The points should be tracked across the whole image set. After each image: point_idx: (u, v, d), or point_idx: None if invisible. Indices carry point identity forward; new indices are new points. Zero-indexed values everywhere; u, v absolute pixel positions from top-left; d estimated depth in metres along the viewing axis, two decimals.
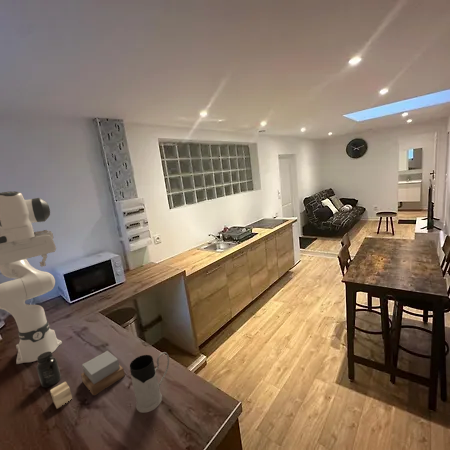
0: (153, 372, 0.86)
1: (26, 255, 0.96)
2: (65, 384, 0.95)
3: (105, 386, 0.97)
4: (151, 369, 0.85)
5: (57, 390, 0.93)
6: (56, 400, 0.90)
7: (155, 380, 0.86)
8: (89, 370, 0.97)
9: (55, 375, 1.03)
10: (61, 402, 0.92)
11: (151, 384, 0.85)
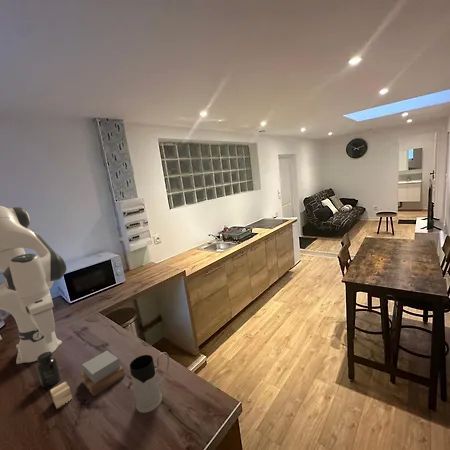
0: (153, 372, 0.86)
1: None
2: (65, 384, 0.95)
3: (105, 386, 0.97)
4: (151, 369, 0.85)
5: (57, 390, 0.93)
6: (56, 400, 0.90)
7: (155, 380, 0.86)
8: (90, 370, 0.97)
9: (55, 375, 1.03)
10: (61, 402, 0.92)
11: (151, 384, 0.85)
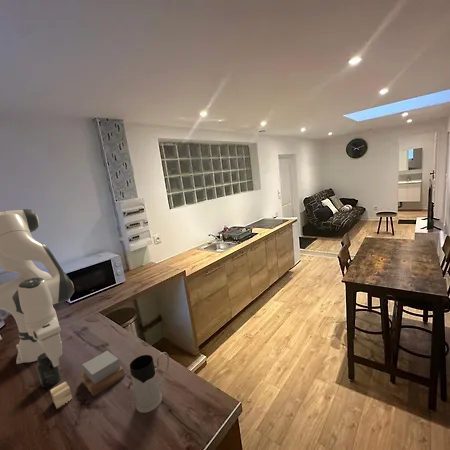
0: (153, 372, 0.86)
1: None
2: (65, 384, 0.95)
3: (105, 386, 0.97)
4: (151, 369, 0.85)
5: (57, 390, 0.93)
6: (56, 400, 0.90)
7: (155, 380, 0.86)
8: (89, 370, 0.97)
9: (55, 375, 1.03)
10: (61, 402, 0.92)
11: (151, 384, 0.85)
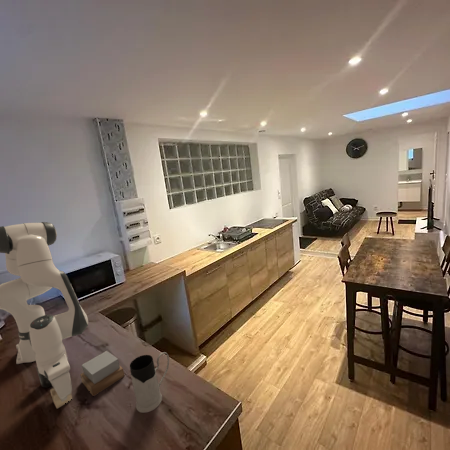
0: (153, 372, 0.86)
1: None
2: None
3: (105, 386, 0.97)
4: (151, 369, 0.85)
5: None
6: (56, 400, 0.90)
7: (155, 380, 0.86)
8: (89, 370, 0.97)
9: None
10: (61, 402, 0.92)
11: (151, 384, 0.85)
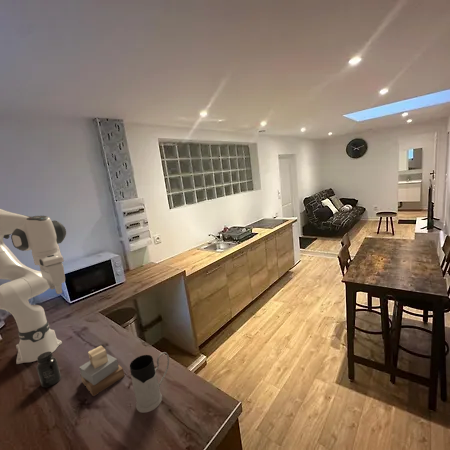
0: (153, 372, 0.86)
1: None
2: (101, 347, 1.02)
3: (105, 386, 0.97)
4: (151, 369, 0.85)
5: (94, 352, 1.00)
6: (94, 360, 0.98)
7: (155, 380, 0.86)
8: (88, 372, 0.96)
9: (55, 375, 1.03)
10: (98, 363, 0.99)
11: (151, 384, 0.85)
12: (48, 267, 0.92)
